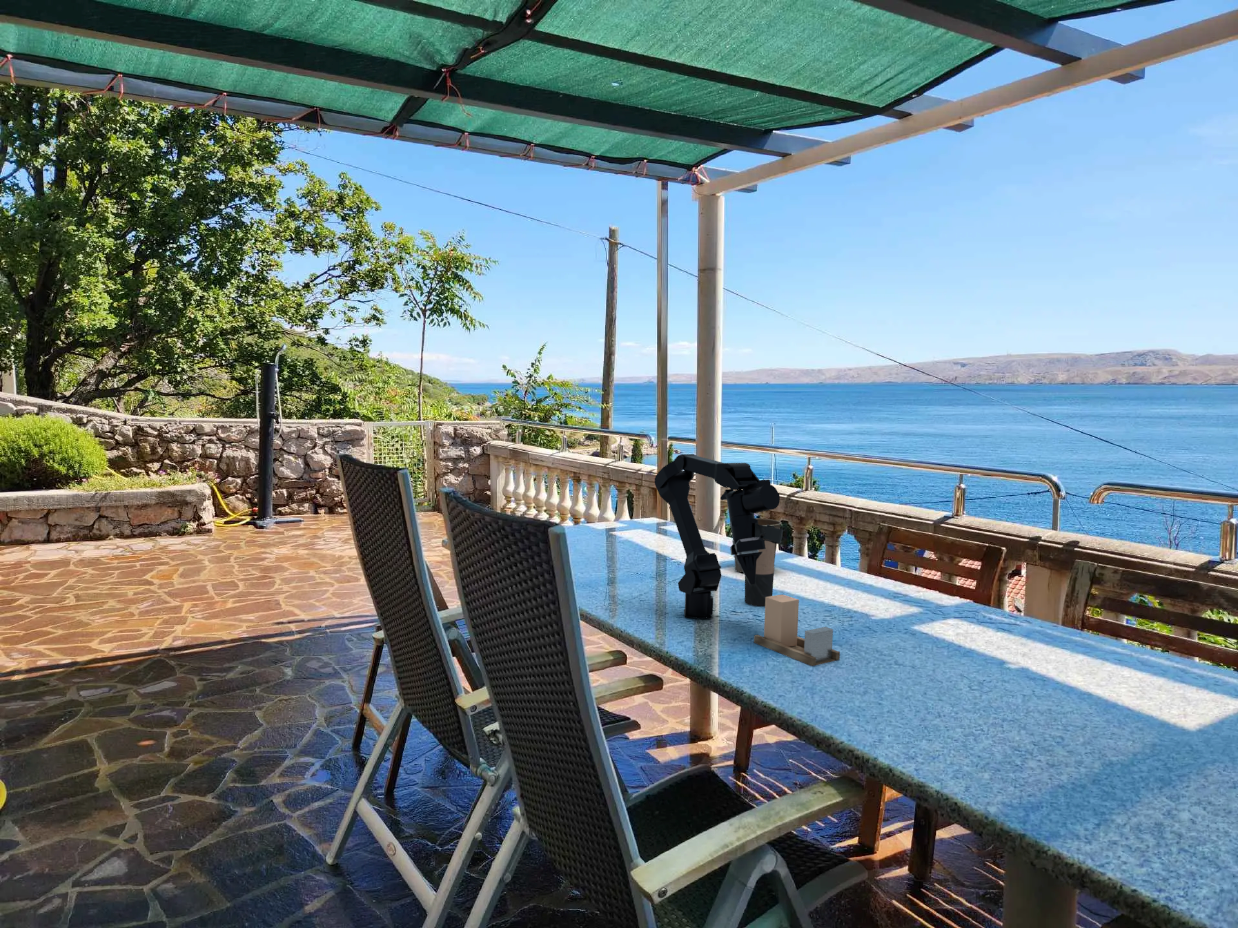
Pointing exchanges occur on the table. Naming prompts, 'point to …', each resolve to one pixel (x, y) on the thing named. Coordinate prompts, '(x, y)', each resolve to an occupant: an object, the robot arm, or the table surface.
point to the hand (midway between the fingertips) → (752, 584)
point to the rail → (794, 650)
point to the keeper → (781, 619)
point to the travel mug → (762, 577)
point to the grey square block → (819, 643)
